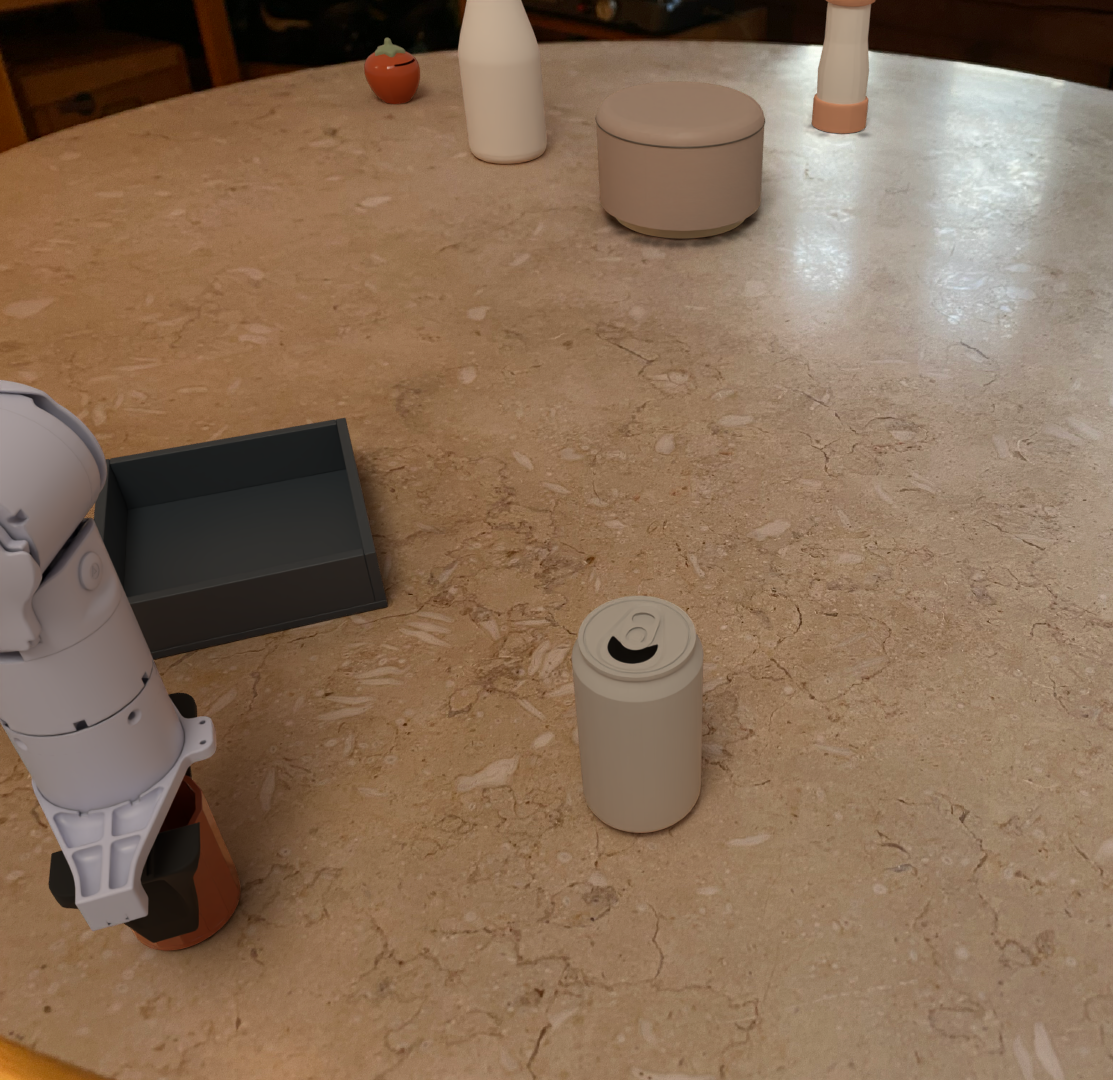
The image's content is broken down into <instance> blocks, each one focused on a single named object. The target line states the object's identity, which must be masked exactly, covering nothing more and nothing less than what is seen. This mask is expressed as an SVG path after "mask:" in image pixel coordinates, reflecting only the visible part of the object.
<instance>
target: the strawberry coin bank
mask: <svg viewBox="0 0 1113 1080" xmlns="http://www.w3.org/2000/svg"><path fill="white" fill-rule="evenodd" d="M363 67H364V68H363V71H364V72H363V73H364V77H365V80H366V82H367V84H368V86H369V87H370V89H371V91H372V92H373V93H374V94H375V96H377V98H379V99H380V100H381V101H383V102H384V103H386V104H390V105H401V104H405V103H408V102H410V101H412V99H413V98H414V96H415V95H416V94H417V91H418V89H419V86H420V82H421V66H420V64H419V61H418V60H417V58H416V57H415V56H414V55H413V54H412V53H410V52H408V51H406V49H404V48H403V47H401V46H400V45H397V44H393V43H392V40H391V38H389V37H385V38H384V41H383V44H382V45H378V46H377V48H376V49H375V51H374V52H372V53H371V54H370V55H368V56H367V58H366V59H365V61H364V65H363Z"/></svg>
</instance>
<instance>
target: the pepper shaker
mask: <svg viewBox="0 0 1113 1080" xmlns="http://www.w3.org/2000/svg"><path fill="white" fill-rule="evenodd" d="M825 1H826V2H827V7H826V17H825V18H826V19H825V30H824V40H823V45H822V48H821V54H820V58H819V63H818V68H817V79H816V81H817V82H816V93H815V94H814V96H813V99H812V112H811V113H812V114H811V125H812V127H813V128H815V129H817V130H819V131H822V132H826V133H831V134H853V133H857V132H861V131H864V129H865V128H866V126H867V120H868V109H869V98H868V96H867V91H868V82H869V74H870V59H869V58H870V57H869V33H870V32H869V31H870V21H871V19H870V18H871V8H872V4H873V3H875V2H876V0H825Z"/></svg>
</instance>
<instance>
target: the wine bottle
mask: <svg viewBox="0 0 1113 1080" xmlns="http://www.w3.org/2000/svg"><path fill="white" fill-rule="evenodd" d="M457 58H458V66H459V74H460V83H461V91H462V100H463V107H464V114H465V115H464V116H465V123H466V124H465V125H466V132H467V137H468V138H467V140H468V147H469V150H470V152H471V153H472V155H473V156H474V157H476V158H477V159H479V160H481V161H483V162H487V163H492V164H499V165H512V164H521V163H527V162H530V161H533V160H536V159H538V158H539V157H540V156H542V155H543V154H544V153H545V151H546V149H547V144H548V136H547V123H546V111H545V110H546V109H545V99H544V98H545V97H544V83H543V72H542V71H543V70H542V58H541V50H540V46H539V44H538V41H537V38H536V35H535V32H534V29H533V26H532V23H531V22H530V19H529V17H528V14H527V12H526V9H525V7H524V3H523V1H522V0H466V3H465V8H464V13H463V18H462V23H461V27H460V31H459V39H458V46H457Z"/></svg>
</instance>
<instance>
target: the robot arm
mask: <svg viewBox="0 0 1113 1080" xmlns="http://www.w3.org/2000/svg"><path fill="white" fill-rule="evenodd" d="M106 477H107V464H106V456H105V453H104V451H103V448H102V446H101V444H100V442H99V441H98V439H97V438H96V436H95V435H94V433H93V432H92V431H91V429H89V427H88V425H86V424H85V422H83V421H82V420H81V419H80V418H79V417H77V416H76V415H75V414H74V413H73V412H71V410H69V409H68V408H66V407H65V406H63V405H61V404H60V403H58V402H57V401H56V400H55V399H54V398H53V397H52V396H50V395H49V394H48V393H47V392H46V391H44V390H42V389H39V388H36V387H34V386H31V385H28V384H25V383H22V382H21V383H20V382H17V381H12V380H6V379H0V725H1V726H2V729H3V731H4V732H5V734H6V735H7V738H8V739H9V741H10V742H11V744H12V746H13V748H14V750H15V751H16V753H17V755H18V756H19V758H20V760H21V761H22V763H23V765H24V766H25V768H26V770H27V771H28V774H29V775H30V777H31V787H32V791H33V793H34V795H35V798H36V800H37V802H38V803H39V807H40V808H41V810H42V812H43V814H44V816H45V818H46V821H47V823H48V824H49V827H50V829H51V831H52V833H53V836H54V837H55V839H56V841H57V843H58V845H59V848H60V849H61V850H57V851H55V852H52V853H51V854H50V865H49V872H48V873H49V875H48V889H49V891H50V893H51V895H52V897H54V899H55V901H56V902H57V904H58V905H59V906H61V908H63V909H64V908H65V909H73V910H78V911H79V912H80V914H81V915H82V918H83V919H84V920H85V922H86V923H87V924H86V925H88V927H89V928H90V930H91V931H92V932H96V931H100V930H103V929H106V928H112V927H115V926H120V925H122V924H123V925H125V926H127V927H128V928H129V929H130V928H131V929H133V930H134V931H135V932H137V933H138V934H140V935H141V936H143V937H144V938H146V939H147V940H149V941H151V942H152V943H156V942H159V941H163V940H166V939H169V938H173V937H176V936H180V935H183V934H186V933H190V932H193V931H196V930H197V929H198V927H199V906H198V898H197V893H196V888H195V884H194V879H193V876H194V874H195V872H196V870H197V868H198V863H199V858H200V822H198V823H194V824H190V825H187V826H183V827H179V828H175V829H172V830H168V831H164V832H160V833H159V831H160V828H161V826H162V824H163V822H164V820H165V817H166V815H167V813H168V811H169V809H170V806H171V804H172V802H173V800H174V797H175V795H176V793H177V791H178V789H179V786H180V784H181V782H182V780H183V778H184V775H186V776H189V777H191V778H192V779H193V774H192V767H191V765H193V764H194V763H197V762H200V761H205V760H207V759H210V758H211V757H212V756H213V755H214V754H215V753H216V751H217V748H218V747H217V729H216V727H215V725H214V722H213V720H212V717H210V716H207V715H204V716H203V715H201V716H198V705H197V703H196V700H195V698H194V697H193V696H192V695H191V694H190V693H186V692H172V693H168V690H167V688H166V686H165V684H164V682H163V679H162V677H161V674H160V671H159V670H158V667H157V665H156V662H155V659H153V658H152V655H151V653H150V650H149V648H148V645H147V643H146V641H145V638H144V636H143V634H142V631H141V629H140V627H139V624H138V622H137V620H136V617H135V615H134V613H133V610H132V608H131V606H130V603H129V601H128V599H127V596H126V594H125V592H124V589H123V587H122V585H121V582H120V580H119V578H118V575H117V573H116V571H115V568H114V566H113V564H112V561H111V559H110V557H109V554H108V552H107V550H106V547H105V545H104V543H103V540H102V538H101V536H100V533H99V531H98V529H97V526H96V524H95V521H94V517H93V518H92V517H86V516H87V515H88V514H89V512H90V511H91V510H92V508H93V507H94V506H95V502H96V501H97V498H98V496H99V493H100V492H101V490H102V489H103V487H104V484H105V481H106ZM131 929H130V930H131Z"/></svg>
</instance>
